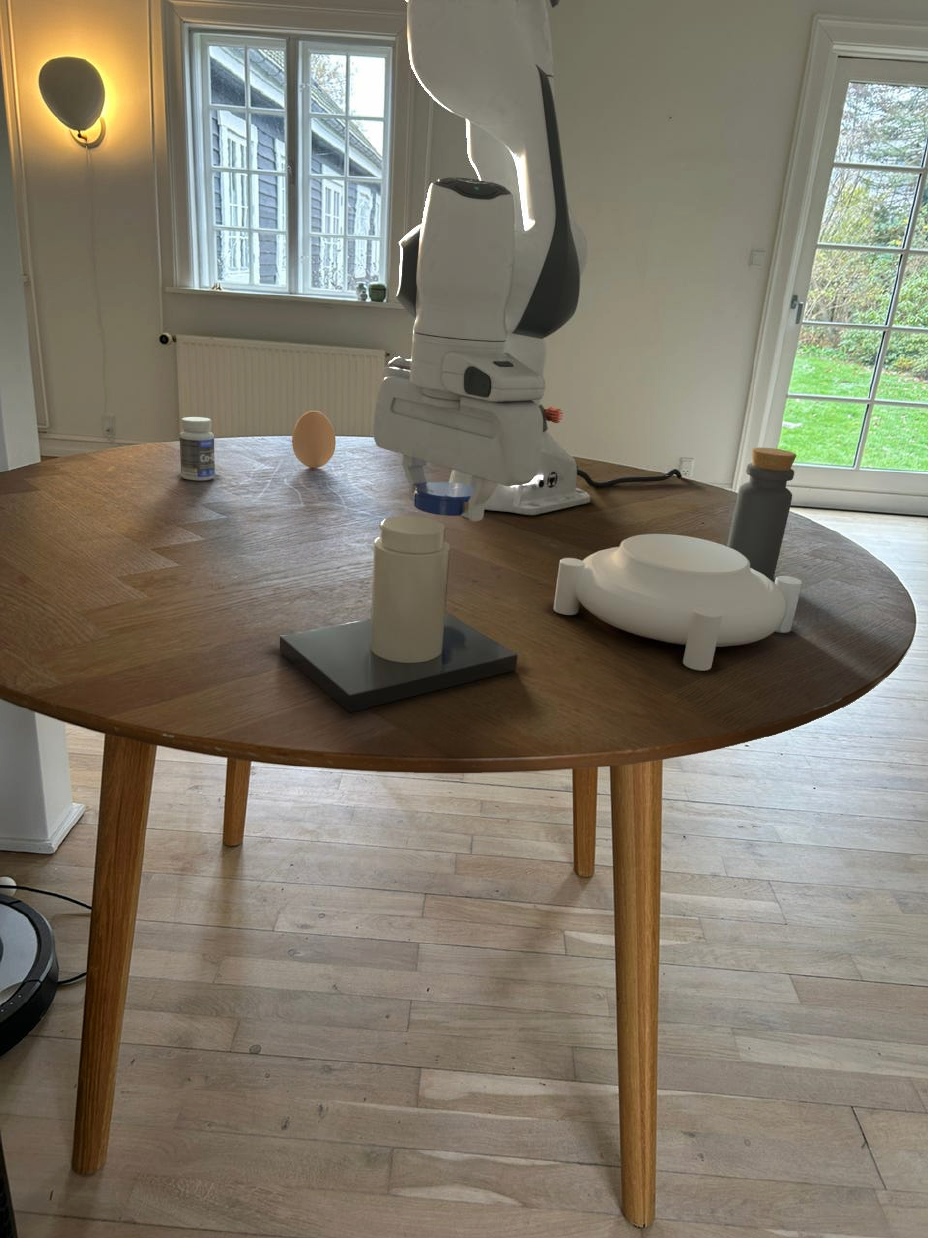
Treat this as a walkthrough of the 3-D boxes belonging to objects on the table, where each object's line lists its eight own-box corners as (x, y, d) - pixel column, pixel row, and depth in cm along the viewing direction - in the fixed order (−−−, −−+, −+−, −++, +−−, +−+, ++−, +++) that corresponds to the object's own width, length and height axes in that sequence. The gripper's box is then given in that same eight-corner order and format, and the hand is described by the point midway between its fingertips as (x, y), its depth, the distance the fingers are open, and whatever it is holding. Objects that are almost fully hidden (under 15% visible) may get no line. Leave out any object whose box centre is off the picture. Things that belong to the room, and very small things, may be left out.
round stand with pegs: (835, 681, 75) (856, 606, 72) (564, 659, 75) (574, 583, 72) (754, 588, 97) (768, 528, 94) (545, 570, 97) (552, 509, 94)
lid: (420, 515, 82) (422, 496, 81) (407, 499, 88) (408, 480, 87) (484, 516, 84) (486, 497, 83) (467, 500, 90) (469, 482, 89)
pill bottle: (205, 482, 121) (203, 423, 118) (175, 478, 122) (172, 419, 119) (220, 475, 126) (219, 418, 122) (191, 472, 126) (189, 414, 123)
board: (436, 620, 81) (437, 605, 80) (516, 670, 72) (518, 654, 71) (279, 651, 71) (279, 635, 71) (349, 713, 63) (349, 695, 62)
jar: (411, 628, 75) (418, 510, 71) (457, 652, 71) (467, 529, 67) (355, 642, 71) (359, 519, 67) (400, 669, 67) (407, 540, 63)
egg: (311, 474, 131) (312, 415, 128) (282, 465, 135) (282, 408, 131) (343, 469, 136) (345, 412, 133) (315, 461, 140) (315, 405, 136)
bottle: (746, 589, 97) (775, 457, 91) (710, 572, 101) (736, 446, 96) (783, 584, 99) (813, 456, 94) (746, 568, 104) (773, 445, 98)
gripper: (361, 354, 85) (355, 489, 90) (513, 384, 72) (496, 540, 77) (408, 354, 89) (400, 483, 95) (560, 383, 77) (541, 531, 82)
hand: (445, 509), depth 86 cm, fingers closed on lid, 6 cm apart
